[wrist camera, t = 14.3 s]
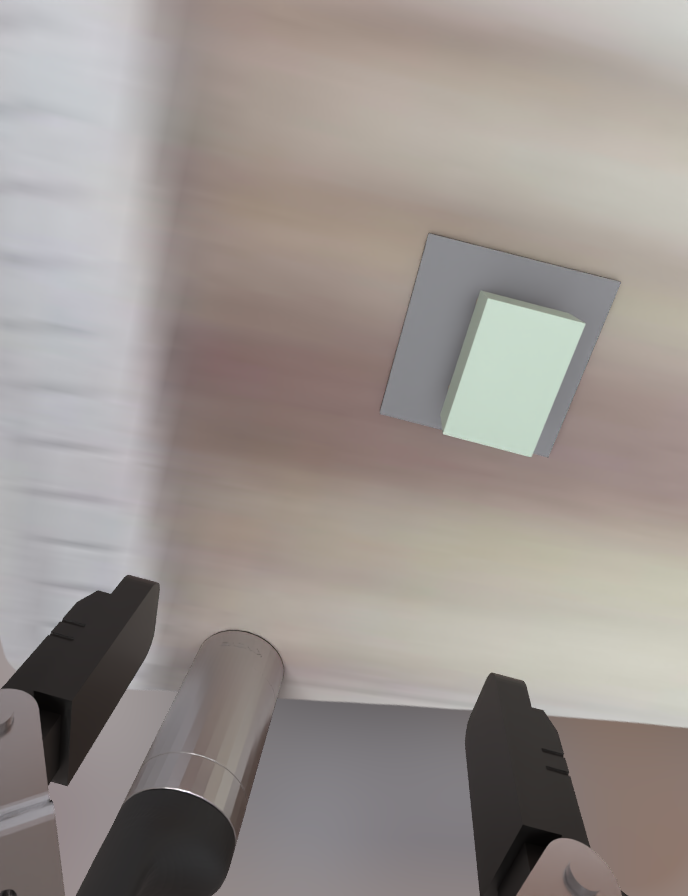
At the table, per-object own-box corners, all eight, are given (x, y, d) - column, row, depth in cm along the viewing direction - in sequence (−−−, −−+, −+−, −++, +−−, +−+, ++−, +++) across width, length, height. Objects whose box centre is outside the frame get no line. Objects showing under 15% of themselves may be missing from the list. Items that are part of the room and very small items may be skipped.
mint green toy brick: (554, 304, 41) (585, 323, 34) (511, 417, 44) (531, 457, 37) (474, 283, 41) (487, 298, 34) (437, 398, 44) (442, 434, 37)
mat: (545, 451, 46) (548, 457, 45) (380, 409, 47) (379, 413, 46) (615, 280, 41) (621, 282, 40) (428, 232, 41) (428, 233, 40)
